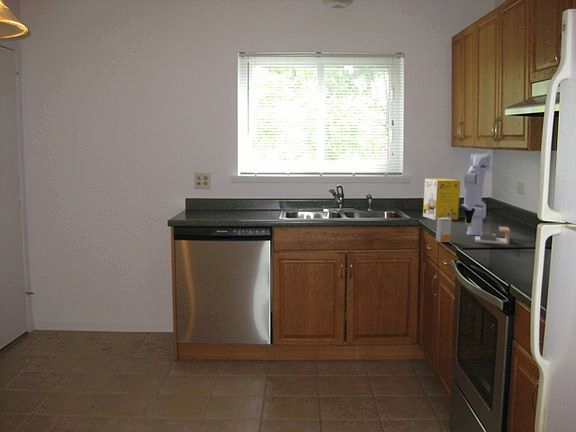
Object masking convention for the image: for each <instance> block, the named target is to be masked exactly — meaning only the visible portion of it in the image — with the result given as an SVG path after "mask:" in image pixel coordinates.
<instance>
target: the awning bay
mask: <svg viewBox="0 0 576 432" xmlns="http://www.w3.org/2000/svg"><path fill="white" fill-rule="evenodd" d="M498 230H499V231H500V233H505V237H503V238H502V237H497V234H496V233H494V232H493V233H490V232H482V233H480V235H479V236H478V235H474V240H475V243H486V244H498V245H510V236H511V229H510V228H509V227H508V226H498Z"/></svg>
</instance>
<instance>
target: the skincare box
mask: <svg viewBox="0 0 576 432" xmlns="http://www.w3.org/2000/svg"><path fill="white" fill-rule="evenodd" d="M435 229H436V230H435V233H436V235H435V241H436V242H438V243H451V234H452V233H451V232H452V231H451V230H452V219H451V218H437V220H436V228H435Z"/></svg>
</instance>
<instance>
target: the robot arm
mask: <svg viewBox="0 0 576 432" xmlns="http://www.w3.org/2000/svg"><path fill="white" fill-rule="evenodd" d="M491 156H492V155H491V154H490V153H474V152H473V153H471V155H470V167H469V169H468V171H467V172H466V173H465V174H464V177H463V181H464V197H463V198H464V199H463V204H461V206H462V207H464V208H463V211H464V215H465V216H464V217H466V223H471V220H472V225H471V226H467V230H466V236H467V235H468V236H480V233H483V229H482V228H483V219H485V218H486V216H487V205H486V203H485V202H484V201H483V199H482V198H483V193H484V192H483V191H484V184H485V176H486V172H487V171H490V168H491V161H492V160H491V159H492V158H491Z"/></svg>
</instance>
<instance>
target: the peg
mask: <svg viewBox="0 0 576 432" xmlns="http://www.w3.org/2000/svg"><path fill="white" fill-rule="evenodd" d="M464 217H465V219H464V226H465V227H468V226H471V225H472V220H471V223H466V216H464Z"/></svg>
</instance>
